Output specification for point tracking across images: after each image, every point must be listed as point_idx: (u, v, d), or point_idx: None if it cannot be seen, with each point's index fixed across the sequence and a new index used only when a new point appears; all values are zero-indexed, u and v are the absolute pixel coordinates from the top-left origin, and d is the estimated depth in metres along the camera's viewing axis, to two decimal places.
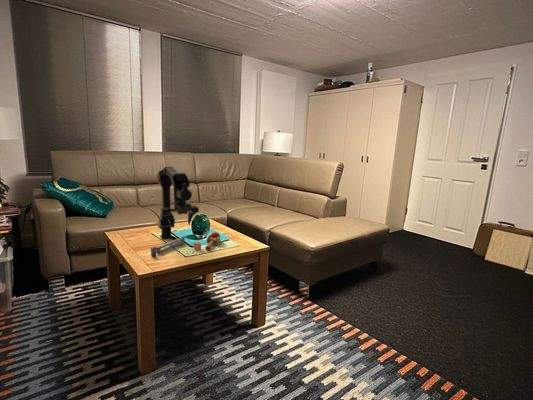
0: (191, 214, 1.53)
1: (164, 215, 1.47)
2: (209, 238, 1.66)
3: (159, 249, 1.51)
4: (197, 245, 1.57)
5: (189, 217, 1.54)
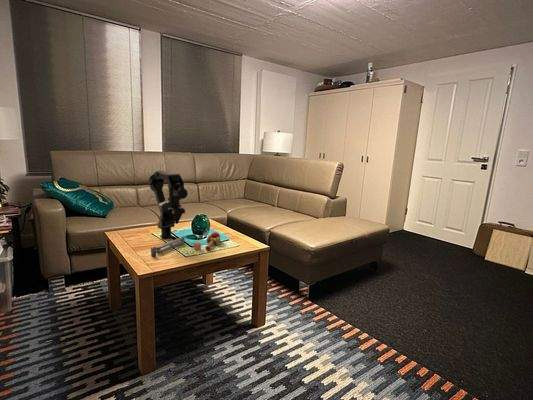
0: (172, 213, 1.61)
1: None
2: (209, 238, 1.66)
3: (159, 249, 1.51)
4: (197, 245, 1.57)
5: None
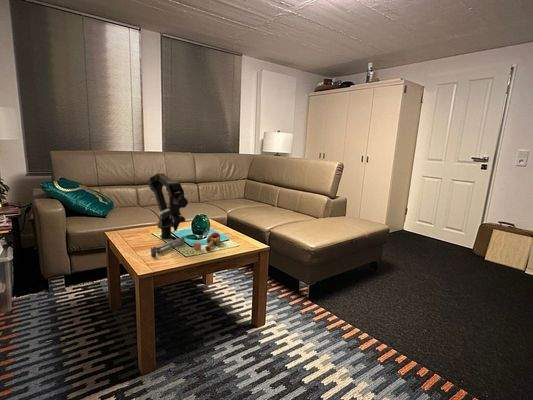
0: (171, 220, 1.65)
1: None
2: (209, 238, 1.66)
3: (159, 249, 1.51)
4: (197, 245, 1.57)
5: None
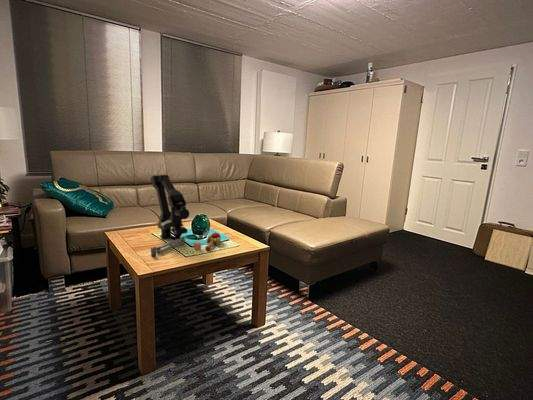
0: (173, 232, 1.64)
1: None
2: (209, 238, 1.66)
3: (159, 249, 1.51)
4: (197, 245, 1.57)
5: None
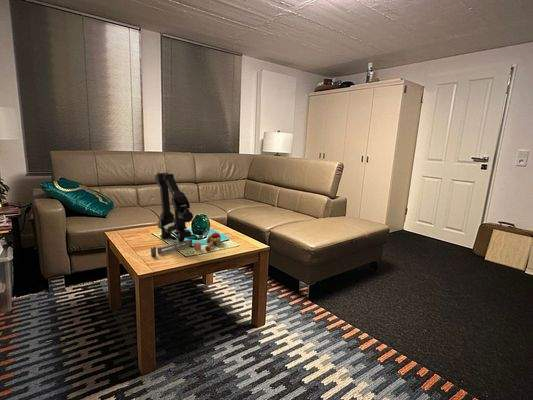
0: (176, 234, 1.59)
1: None
2: (209, 238, 1.65)
3: (160, 250, 1.50)
4: (197, 245, 1.57)
5: None
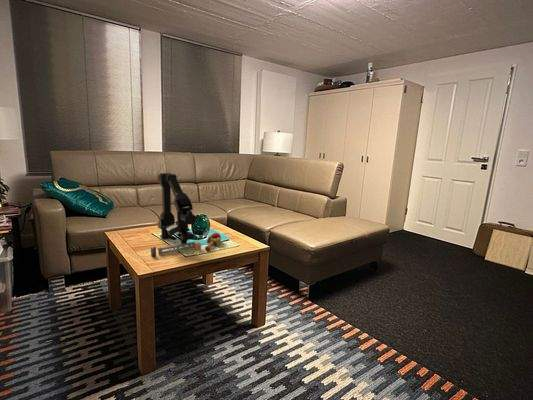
0: None
1: None
2: (209, 239, 1.65)
3: (160, 250, 1.49)
4: (197, 245, 1.57)
5: (181, 239, 1.58)
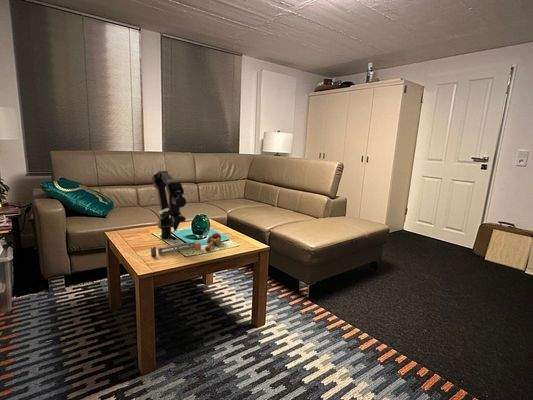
0: (170, 220, 1.61)
1: None
2: (209, 239, 1.65)
3: (160, 250, 1.49)
4: (197, 245, 1.57)
5: (173, 223, 1.63)
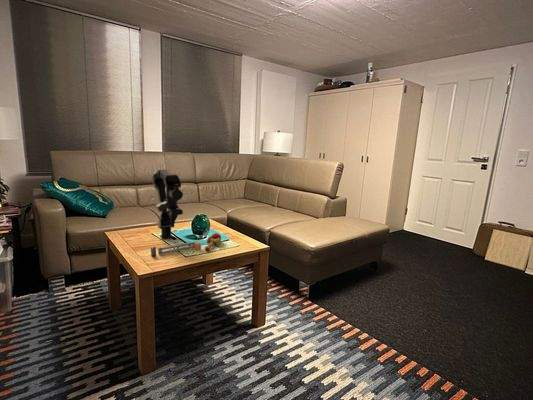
0: (168, 213, 1.61)
1: None
2: (209, 239, 1.65)
3: (160, 250, 1.49)
4: (197, 245, 1.57)
5: None
